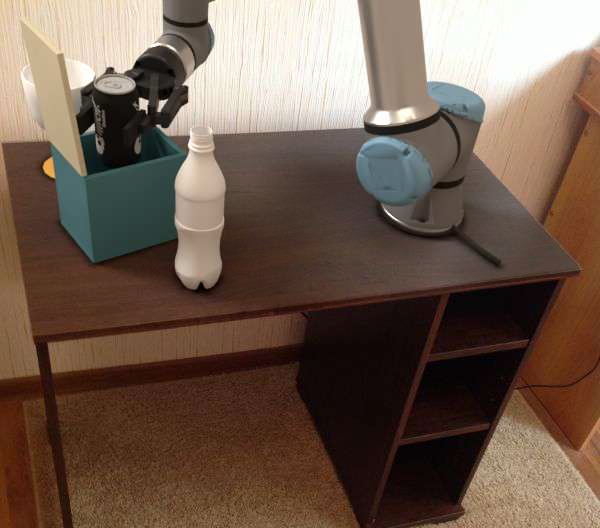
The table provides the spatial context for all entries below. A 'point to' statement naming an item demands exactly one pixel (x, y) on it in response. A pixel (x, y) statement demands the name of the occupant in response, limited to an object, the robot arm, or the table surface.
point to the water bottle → (199, 212)
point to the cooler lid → (53, 94)
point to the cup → (78, 80)
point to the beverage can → (115, 119)
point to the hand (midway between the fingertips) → (102, 132)
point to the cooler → (120, 197)
